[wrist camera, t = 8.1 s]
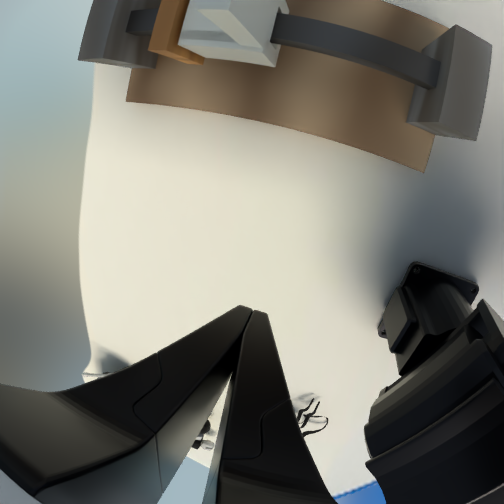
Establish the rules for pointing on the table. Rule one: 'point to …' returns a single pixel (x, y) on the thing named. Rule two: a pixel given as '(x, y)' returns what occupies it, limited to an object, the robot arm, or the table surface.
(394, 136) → the rail board
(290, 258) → the table surface
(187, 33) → the white l-bracket
